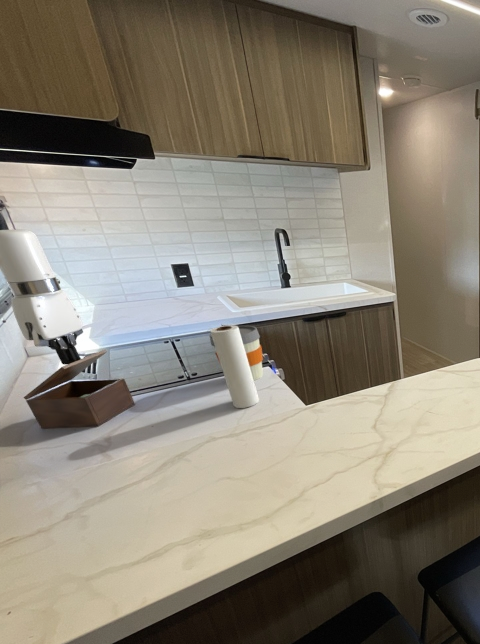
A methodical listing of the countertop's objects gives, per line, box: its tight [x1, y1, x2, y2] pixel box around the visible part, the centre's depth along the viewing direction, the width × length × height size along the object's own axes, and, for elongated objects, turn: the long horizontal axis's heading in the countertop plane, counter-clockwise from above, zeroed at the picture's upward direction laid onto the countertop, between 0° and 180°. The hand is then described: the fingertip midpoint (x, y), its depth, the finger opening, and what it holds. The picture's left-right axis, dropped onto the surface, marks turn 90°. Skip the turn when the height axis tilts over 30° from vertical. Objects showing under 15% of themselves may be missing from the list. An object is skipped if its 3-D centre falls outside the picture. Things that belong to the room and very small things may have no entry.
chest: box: [25, 378, 136, 429], centre depth 102 cm, size 14×12×8 cm
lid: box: [23, 349, 108, 401], centre depth 99 cm, size 14×12×1 cm
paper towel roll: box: [209, 324, 260, 409], centre depth 105 cm, size 7×6×21 cm
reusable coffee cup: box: [208, 325, 264, 382], centre depth 122 cm, size 13×13×15 cm
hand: (72, 362), depth 98 cm, fingers closed
